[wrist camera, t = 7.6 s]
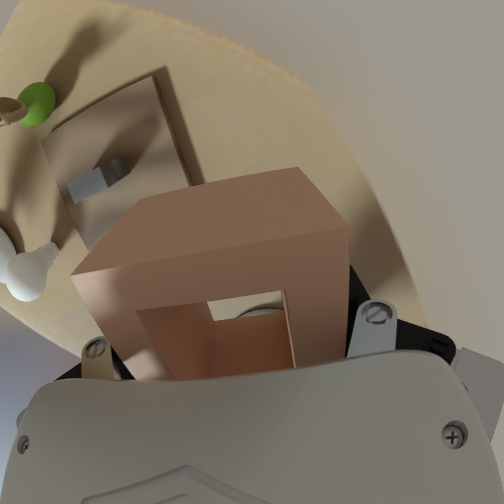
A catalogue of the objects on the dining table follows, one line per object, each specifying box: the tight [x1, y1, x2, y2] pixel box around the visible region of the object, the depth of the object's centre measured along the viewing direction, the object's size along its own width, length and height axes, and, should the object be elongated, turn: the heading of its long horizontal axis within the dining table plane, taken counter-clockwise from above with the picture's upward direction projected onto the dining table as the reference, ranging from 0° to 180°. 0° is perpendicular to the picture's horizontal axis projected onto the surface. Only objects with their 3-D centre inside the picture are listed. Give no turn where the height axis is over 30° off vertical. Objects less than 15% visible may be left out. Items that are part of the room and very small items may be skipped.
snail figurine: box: [0, 82, 55, 126], centre depth 18 cm, size 5×6×12 cm
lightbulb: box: [5, 242, 59, 301], centre depth 28 cm, size 6×6×11 cm
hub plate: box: [41, 76, 193, 251], centre depth 25 cm, size 16×16×7 cm
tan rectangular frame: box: [70, 167, 350, 380], centre depth 10 cm, size 7×9×6 cm
